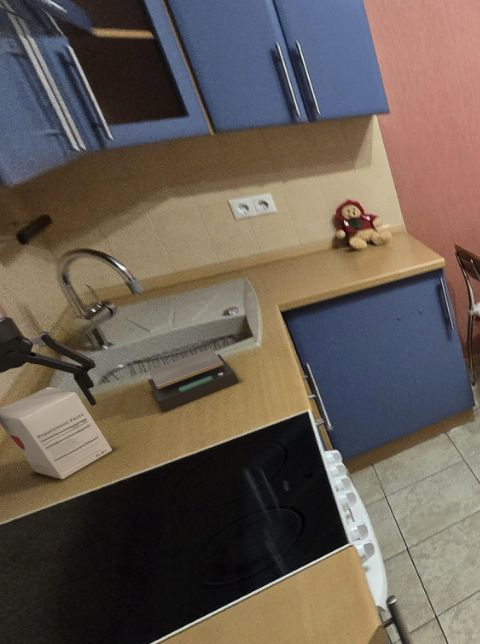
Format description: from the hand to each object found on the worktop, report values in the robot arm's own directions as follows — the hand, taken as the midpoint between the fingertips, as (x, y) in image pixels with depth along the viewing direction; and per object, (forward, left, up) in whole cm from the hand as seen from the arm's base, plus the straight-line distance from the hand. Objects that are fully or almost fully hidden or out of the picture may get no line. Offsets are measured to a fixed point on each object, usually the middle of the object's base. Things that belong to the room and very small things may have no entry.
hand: (47, 420), depth 104 cm
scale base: (-14, +23, -11) cm, 29 cm away
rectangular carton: (0, 0, -11) cm, 11 cm away
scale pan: (-15, +23, -6) cm, 28 cm away
